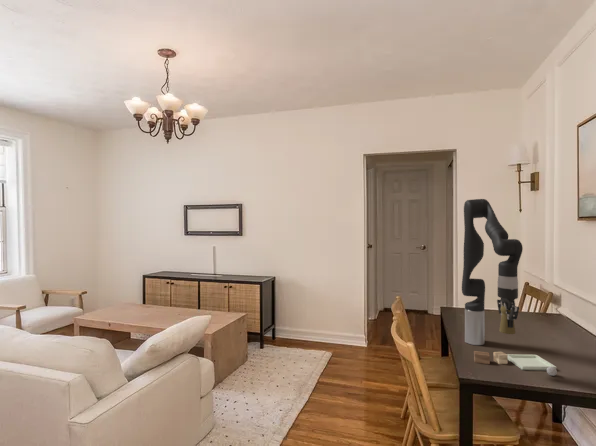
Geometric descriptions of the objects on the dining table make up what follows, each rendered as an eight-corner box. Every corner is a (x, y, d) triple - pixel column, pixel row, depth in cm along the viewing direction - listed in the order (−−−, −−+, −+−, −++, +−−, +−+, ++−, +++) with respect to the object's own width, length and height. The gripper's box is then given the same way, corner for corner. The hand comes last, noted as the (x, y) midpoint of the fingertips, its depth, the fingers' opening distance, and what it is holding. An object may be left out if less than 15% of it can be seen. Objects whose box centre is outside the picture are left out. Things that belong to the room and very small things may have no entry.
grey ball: (544, 373, 154) (544, 365, 154) (553, 373, 154) (553, 365, 154) (550, 377, 151) (550, 368, 151) (558, 377, 150) (559, 368, 150)
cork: (510, 329, 160) (510, 304, 160) (518, 334, 154) (518, 307, 154) (496, 329, 160) (496, 304, 159) (504, 334, 154) (504, 308, 153)
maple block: (493, 360, 168) (493, 352, 168) (501, 360, 169) (501, 351, 169) (499, 364, 164) (499, 355, 164) (507, 363, 165) (507, 354, 165)
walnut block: (473, 359, 170) (473, 350, 170) (488, 361, 168) (488, 352, 168) (474, 362, 166) (474, 353, 166) (489, 364, 164) (489, 355, 164)
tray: (505, 357, 172) (505, 354, 172) (536, 358, 171) (536, 354, 171) (522, 370, 158) (522, 366, 158) (556, 370, 157) (556, 366, 157)
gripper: (490, 283, 164) (490, 321, 164) (507, 289, 149) (507, 332, 150) (508, 283, 163) (507, 322, 164) (526, 289, 149) (526, 332, 149)
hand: (507, 326), depth 157 cm, fingers closed on cork, 3 cm apart
